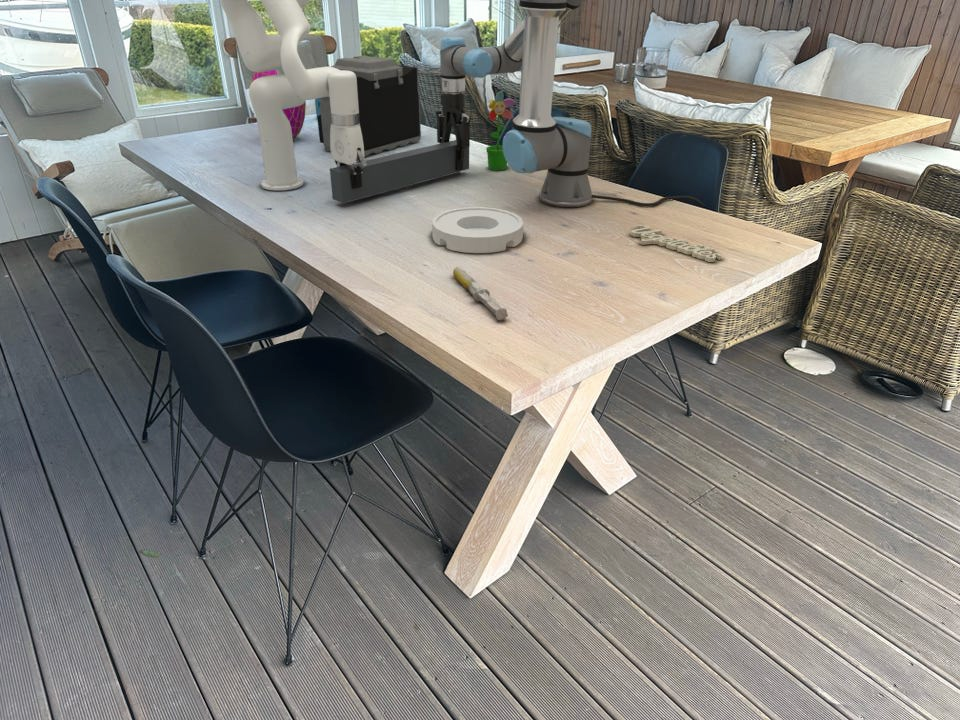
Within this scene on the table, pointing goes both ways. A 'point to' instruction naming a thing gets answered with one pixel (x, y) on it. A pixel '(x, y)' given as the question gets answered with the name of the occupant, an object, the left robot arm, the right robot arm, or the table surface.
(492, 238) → the ashtray
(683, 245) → the decorative sign
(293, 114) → the magenta tall rounded piece
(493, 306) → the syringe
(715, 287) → the table surface
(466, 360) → the table surface
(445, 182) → the table surface
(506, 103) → the potted flower
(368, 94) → the black cooler box
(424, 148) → the beam
